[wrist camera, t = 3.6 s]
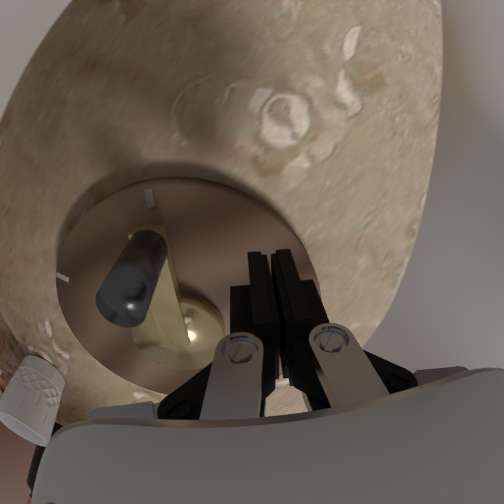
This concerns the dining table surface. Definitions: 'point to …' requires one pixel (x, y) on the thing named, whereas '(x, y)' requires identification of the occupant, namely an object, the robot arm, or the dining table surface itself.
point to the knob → (159, 304)
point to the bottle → (37, 463)
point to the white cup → (32, 400)
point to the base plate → (183, 256)
